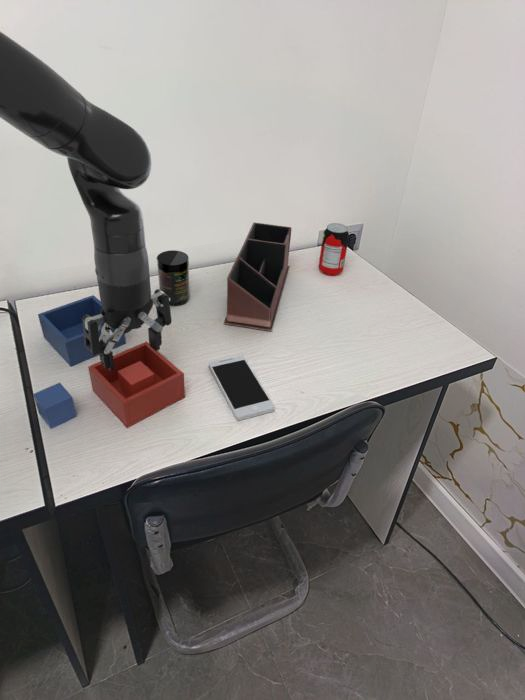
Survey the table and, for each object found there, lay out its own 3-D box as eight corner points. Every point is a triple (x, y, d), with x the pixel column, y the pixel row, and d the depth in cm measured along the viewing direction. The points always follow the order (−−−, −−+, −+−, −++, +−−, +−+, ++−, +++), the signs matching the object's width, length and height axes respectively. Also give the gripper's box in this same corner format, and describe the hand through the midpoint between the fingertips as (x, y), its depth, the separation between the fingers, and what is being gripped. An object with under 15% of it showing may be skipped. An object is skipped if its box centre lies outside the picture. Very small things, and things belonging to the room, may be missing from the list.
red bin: (127, 428, 81) (123, 403, 78) (92, 390, 87) (87, 366, 84) (185, 397, 88) (184, 373, 84) (149, 364, 94) (146, 341, 90)
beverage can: (347, 271, 128) (355, 227, 120) (334, 279, 124) (341, 235, 116) (326, 262, 131) (333, 219, 123) (313, 271, 127) (319, 227, 119)
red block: (134, 404, 85) (131, 384, 82) (120, 390, 87) (117, 371, 84) (156, 393, 87) (154, 373, 84) (142, 379, 90) (140, 360, 87)
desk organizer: (289, 267, 128) (293, 226, 121) (271, 332, 105) (275, 286, 98) (249, 261, 129) (251, 220, 122) (223, 324, 106) (224, 278, 99)
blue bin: (70, 366, 92) (65, 342, 89) (43, 337, 98) (37, 314, 95) (126, 343, 99) (122, 320, 95) (97, 317, 105) (93, 294, 102)
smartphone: (236, 421, 84) (237, 417, 83) (207, 365, 95) (207, 361, 94) (275, 410, 86) (275, 407, 86) (242, 358, 97) (242, 354, 96)
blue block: (50, 429, 80) (44, 409, 77) (38, 413, 82) (32, 393, 80) (77, 416, 82) (72, 396, 80) (64, 401, 85) (59, 382, 82)
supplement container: (195, 295, 114) (194, 255, 108) (180, 309, 109) (177, 268, 103) (170, 288, 116) (168, 247, 110) (154, 301, 111) (150, 260, 105)
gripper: (90, 297, 66) (105, 387, 76) (178, 267, 74) (181, 352, 84) (64, 275, 70) (82, 363, 80) (150, 249, 79) (156, 331, 88)
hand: (133, 357), depth 82 cm, fingers open, 8 cm apart
